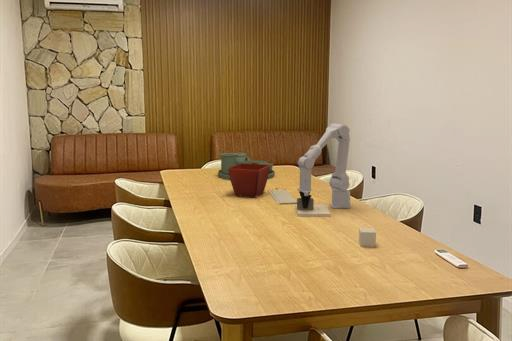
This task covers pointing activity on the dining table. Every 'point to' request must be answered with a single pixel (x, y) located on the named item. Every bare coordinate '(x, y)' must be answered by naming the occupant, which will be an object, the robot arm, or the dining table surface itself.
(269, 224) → the dining table surface
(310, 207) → the block
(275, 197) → the baseboard molding
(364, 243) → the light gray cube
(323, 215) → the board
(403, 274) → the dining table surface
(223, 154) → the tea set
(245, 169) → the plant pot
